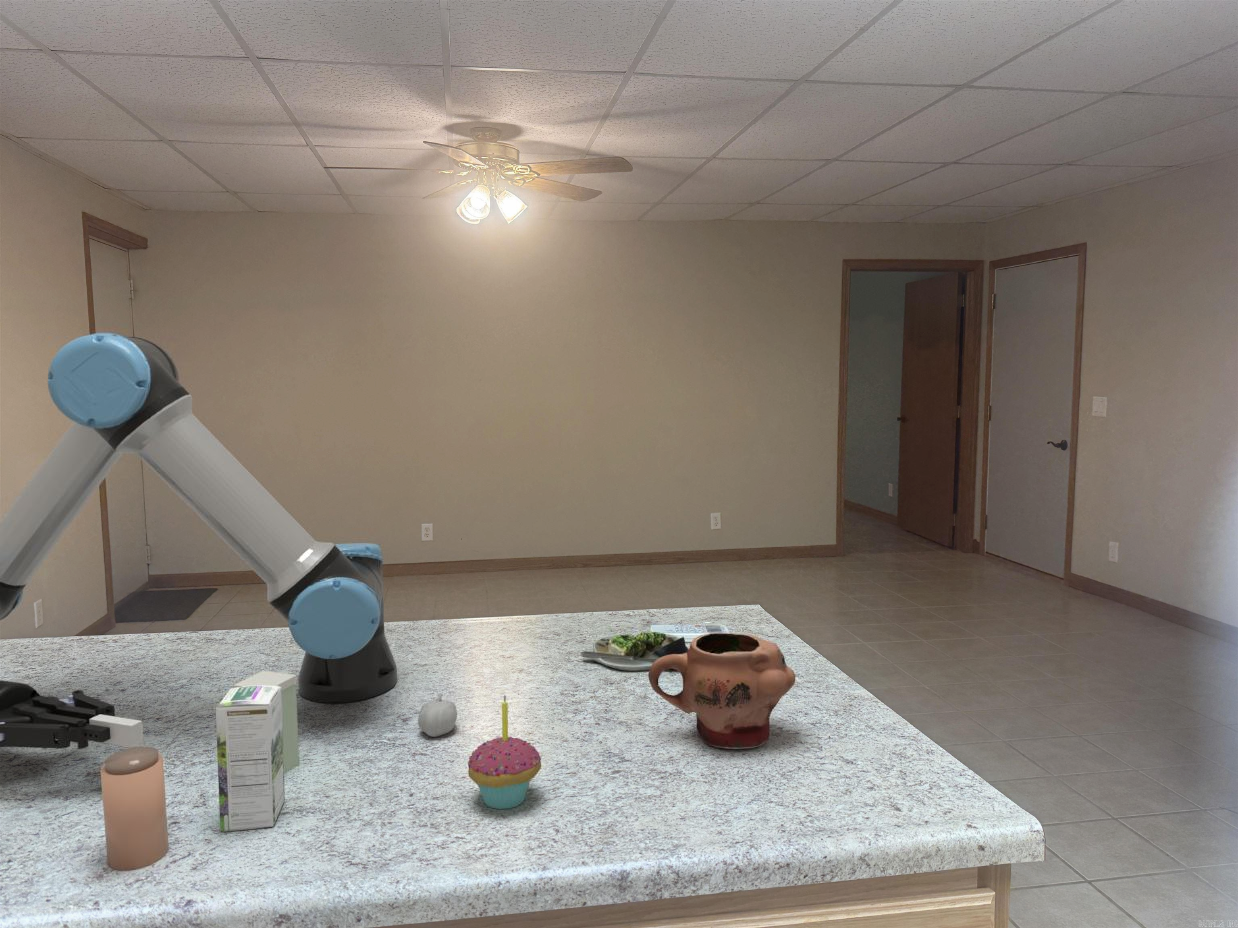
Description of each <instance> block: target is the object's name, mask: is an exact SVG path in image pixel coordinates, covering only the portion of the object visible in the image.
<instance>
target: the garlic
mask: <svg viewBox="0 0 1238 928" xmlns="http://www.w3.org/2000/svg"><path fill="white" fill-rule="evenodd" d="M442 696H443V694H442V693H438V695H437V699H433V700H431V701H428V702H425V703H424V704H423V705H422V706H421V707H420V711H419V714H418V717H417V718H418V719H417V722H418V727H419V728H420V730H421V731H422V732H424V733H425V734H427V736H429V737H432V738H436V737H440V736H443V735H446V734H447V733H450V731H452V730H453V728H454V727H455V726H456V722H457V718H458V711H457V705H456V704H455V703H454V702H453V701H451V700H444V699H442Z"/></svg>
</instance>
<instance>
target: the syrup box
mask: <svg viewBox="0 0 1238 928" xmlns="http://www.w3.org/2000/svg"><path fill="white" fill-rule="evenodd" d="M215 723H216V724H215V726H216V745H217V746H216V751H217V757H216V758H217V780H218V782H217V783H218V802H219V806H218V808H219V809H218V810H219V830H220V831H221V832H222V833H223V832H233V831H243V830H246V831H247V830H253V829H254V830H255V829H263V828H271V827H275V825H276V823H277V820H278V818H279V815H280V813H281V811H282V808H283V806H284V804H285V799H286V798H285V797H286V796H285V795H286V793H285V792H286V791H285V774H284V762H283V728H282V700H281V687H280V686H266V685H258V686H244V687H237V688H233V687H231V688H230V689H229V691H227V693H226V694H225V696H224V697H223V699H222V700H221V701H220V702H219V704H218V705H217V706H216V708H215Z"/></svg>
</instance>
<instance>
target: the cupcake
mask: <svg viewBox="0 0 1238 928" xmlns="http://www.w3.org/2000/svg"><path fill="white" fill-rule="evenodd" d="M506 698H507V696H506V694H504V695H503V702H501V723H502V724H501V725H502V727H501V729H502V731H501V735H502V737H496V738H493V739H491V740H486V741H485V742H483V743H481V744H480V745H478V746H477V748H476V749H475V750H473V751H472V753H471V755H469V757H468V762H467V765H468V770H467V771H468V772H467V775H468V776H469V778H470V779H471V781H473V783H475V784H476V785H477V787H478V788H479V790H480V793H481V796H482V799H483V802H484V804H485V805H486V806H487V807H489V808H491V809H496V810H508V809H512V808H516V807H517V806H520V805H521V804H522V803H523V802H524V800H525V798H526V794H527V790H528V787H529V785H530V782H531V781H532V780H533V779H534V778H535V777H536V776H537V775H538V773H539V772H540V770H541V769H542V761H541V760H542V757H541V755H540V752H539V751H538V750H537V749H536V747H535V746H534V745H532V744H531V742H527V740H524V739H521V738H518V737H512V736H511V737H510V736H509V722H508V721H509V720H508V719H509V718H508V717H509V714H508V712H509V711H508V709H509V706H508V704H509V703H508V702H507V701H506Z"/></svg>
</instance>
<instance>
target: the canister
mask: <svg viewBox="0 0 1238 928" xmlns="http://www.w3.org/2000/svg"><path fill="white" fill-rule="evenodd" d="M164 769H165V767H164V757H163V755H162V754H161V753H159V750H158V749H157V748H156V747H154V746H150V745H149V746H146V745H143V746H136V747H133V748H131V747H127V748H124V749H122V750H118V751H117V752H114V753H112V754H110V755H108V757H106V758H105V759H104V765H102V766H101V768H100V781H101V795H102V807H103V809H102V810H103V821H104V836H105V850H106V851H105V852H106V860H107V861H106V863H107V867H108V868H110V869H111V870H114V871H119V872H120V871H121V872H126V871H128V872H129V871H134V870H139V869H142V868H145V867H148V866H150V865H152V864H155V863H157V862H158V861H160V860H161V859H163V858H164V857H165V856H166V855H167V854H168V852H169V849H170V848H169V846H170V845H169V832H168V830H169V829H168V828H169V827H168V816H167V814H168V813H167V812H168V811H167V802H166V801H167V800H166V799H167V798H166V785H165V783H166V782H165V770H164Z"/></svg>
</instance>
